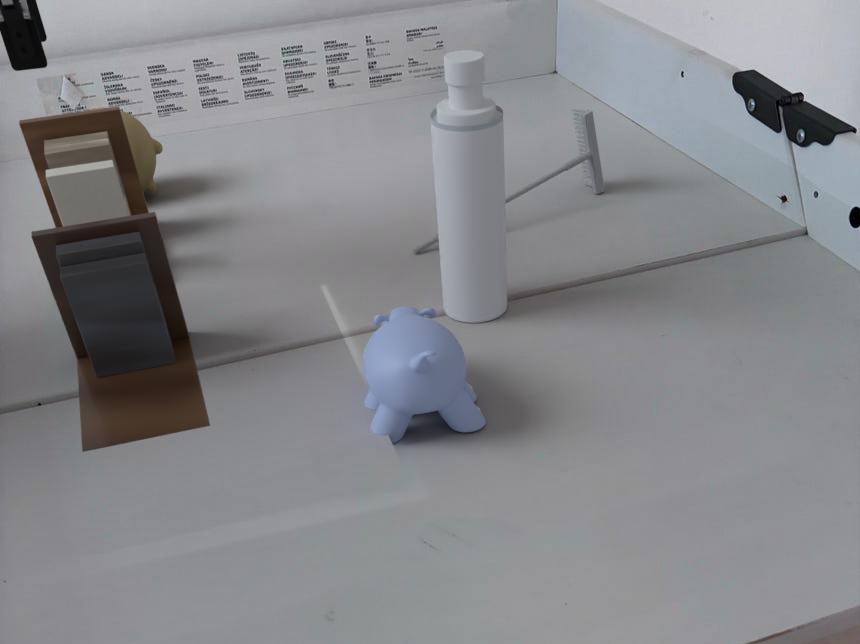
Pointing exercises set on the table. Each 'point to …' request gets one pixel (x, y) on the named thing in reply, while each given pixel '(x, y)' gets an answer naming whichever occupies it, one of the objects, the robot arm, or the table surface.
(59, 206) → the white book
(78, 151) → the wooden bookshelf
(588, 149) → the grey toy rake
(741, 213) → the table surface
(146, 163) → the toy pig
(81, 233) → the stand
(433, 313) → the hippopotamus toy
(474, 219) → the spray bottle
